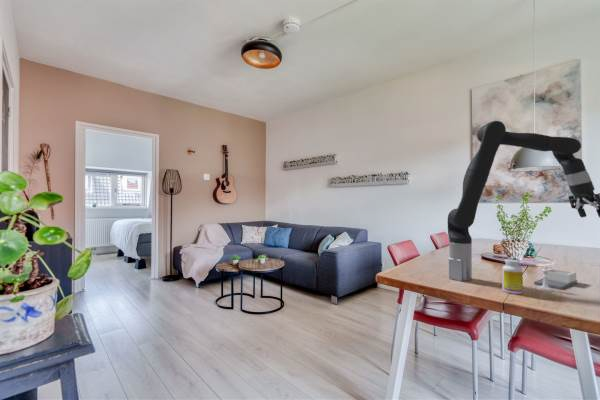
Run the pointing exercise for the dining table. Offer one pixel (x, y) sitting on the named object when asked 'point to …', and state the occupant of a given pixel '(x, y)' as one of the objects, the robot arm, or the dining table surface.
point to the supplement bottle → (512, 277)
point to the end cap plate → (558, 279)
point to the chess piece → (545, 281)
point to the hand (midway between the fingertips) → (592, 217)
